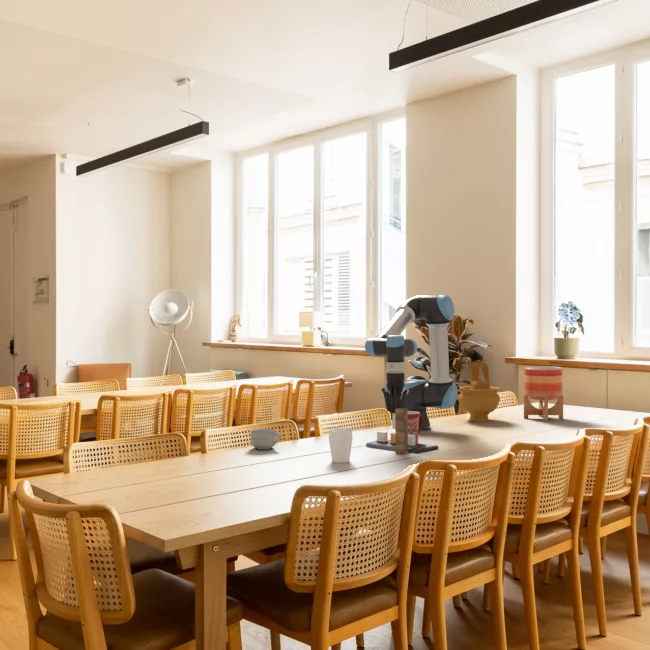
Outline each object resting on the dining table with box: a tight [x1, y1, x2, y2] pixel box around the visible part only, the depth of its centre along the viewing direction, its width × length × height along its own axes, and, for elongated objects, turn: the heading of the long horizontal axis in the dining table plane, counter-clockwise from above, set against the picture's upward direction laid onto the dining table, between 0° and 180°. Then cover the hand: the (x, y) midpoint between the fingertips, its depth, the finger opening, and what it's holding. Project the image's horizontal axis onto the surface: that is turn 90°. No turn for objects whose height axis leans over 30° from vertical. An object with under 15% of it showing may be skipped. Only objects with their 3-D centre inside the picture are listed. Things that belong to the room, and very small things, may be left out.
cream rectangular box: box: [408, 435, 415, 446], centre depth 295 cm, size 2×4×4 cm, turn 50°
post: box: [395, 408, 408, 456], centre depth 286 cm, size 4×4×18 cm
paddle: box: [376, 430, 389, 442], centre depth 304 cm, size 2×4×4 cm, turn 50°
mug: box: [408, 411, 423, 444], centre depth 309 cm, size 13×9×14 cm
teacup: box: [250, 428, 282, 450], centre depth 298 cm, size 14×11×8 cm
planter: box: [523, 365, 564, 423], centre depth 375 cm, size 20×20×27 cm
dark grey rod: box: [413, 444, 439, 454], centre depth 291 cm, size 14×1×1 cm, turn 132°
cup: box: [328, 427, 353, 464], centre depth 273 cm, size 9×9×12 cm
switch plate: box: [365, 439, 427, 454], centre depth 299 cm, size 12×22×2 cm, turn 50°
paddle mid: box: [390, 432, 396, 444], centre depth 299 cm, size 2×4×4 cm, turn 50°
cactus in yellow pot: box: [457, 362, 501, 423], centre depth 371 cm, size 21×21×30 cm
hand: (395, 428), depth 299 cm, fingers closed
